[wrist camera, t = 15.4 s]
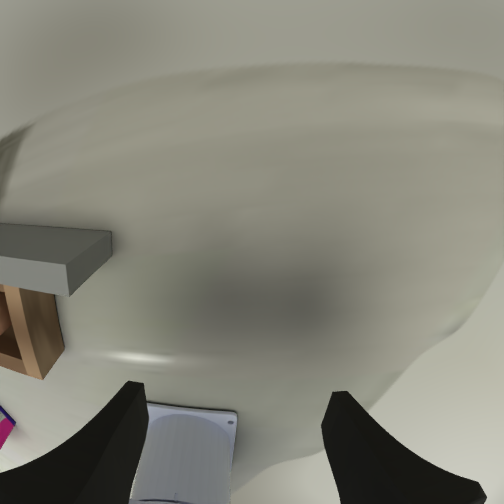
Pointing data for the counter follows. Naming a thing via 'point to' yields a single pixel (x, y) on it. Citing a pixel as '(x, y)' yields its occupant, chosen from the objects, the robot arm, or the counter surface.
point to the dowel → (4, 314)
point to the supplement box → (5, 426)
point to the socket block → (30, 332)
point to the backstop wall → (51, 257)
